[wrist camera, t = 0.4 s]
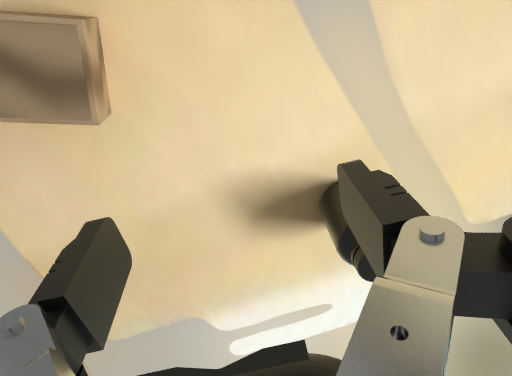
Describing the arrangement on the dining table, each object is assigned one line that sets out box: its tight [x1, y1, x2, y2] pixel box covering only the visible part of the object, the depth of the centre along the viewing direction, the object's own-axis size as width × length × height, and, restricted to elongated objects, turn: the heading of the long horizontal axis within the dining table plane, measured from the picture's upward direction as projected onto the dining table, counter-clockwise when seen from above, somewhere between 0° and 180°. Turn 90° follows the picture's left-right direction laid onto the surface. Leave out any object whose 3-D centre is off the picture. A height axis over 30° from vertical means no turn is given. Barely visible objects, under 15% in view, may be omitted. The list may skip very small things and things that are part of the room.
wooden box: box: [0, 11, 111, 125], centre depth 31 cm, size 9×9×4 cm
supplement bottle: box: [320, 183, 377, 282], centre depth 38 cm, size 7×7×12 cm
